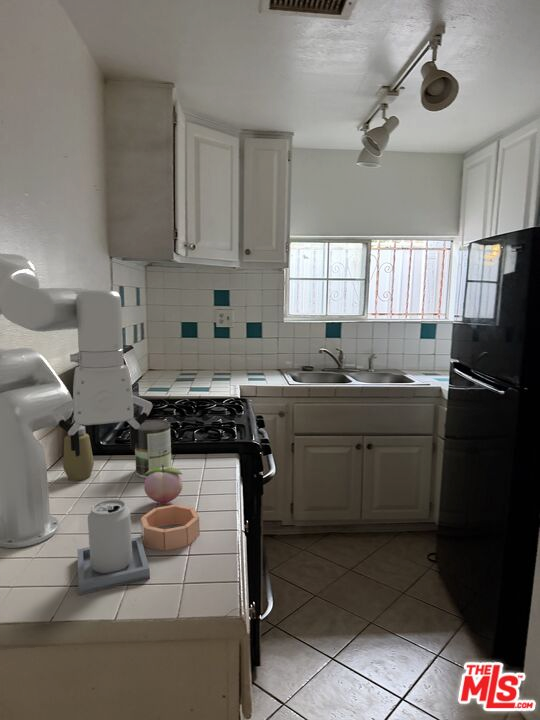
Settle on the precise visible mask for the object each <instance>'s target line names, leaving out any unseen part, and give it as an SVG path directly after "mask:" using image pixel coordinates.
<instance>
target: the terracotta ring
mask: <svg viewBox="0 0 540 720" xmlns="http://www.w3.org/2000/svg"><path fill="white" fill-rule="evenodd" d="M140 521H141V527H140V528H141V539H142V542H143V545H144V547H147V548H151V549H155V550H159V551H165V552H166V551H170V550H174V549H179V548H180V549H181V548H184V547H188V546H189V545H191V543H193V542H194V541H195V540H196V539H198V537H199V536H200V533H201V532H200V516H199V514H198V513H197V510H196V509H195V508H194V507H191V506H186V505H183V504H181V505H180V504H171V505H170V504H169V505H165V506H159V507H155V508H153V509H151V510H150V511H148V512H147V513H146V514H144V515H142V516H141V518H140ZM173 524H175V525H182V526H176V527H173V528H172V527H171V528H166V529H165V528H159V527H163V526H168V525H173Z"/></svg>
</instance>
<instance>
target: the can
mask: <svg viewBox="0 0 540 720" xmlns="http://www.w3.org/2000/svg"><path fill="white" fill-rule="evenodd" d="M131 519H132V518H131V510H130V508H129V507H128V506H127V502H126V501H125V500H123V499H117V498H111V499H110V498H109V499H105V500H104V499H103V500H100V501H98V502H96V503H95V504H93V505H92V506H91V508H90V513H88V516H87V528H88V542H89V543H88V545H89V546H88V547H90V562H91V567H92V569H93V570H95V571H97V572H98V573H101V574H112V573H117V572H120V571H122V570H124V569H125V568H126V567H127V565H129V564H130V563H131V561H132V539H133V538H132V523H131V522H132V520H131Z"/></svg>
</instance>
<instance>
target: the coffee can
mask: <svg viewBox="0 0 540 720" xmlns="http://www.w3.org/2000/svg"><path fill="white" fill-rule="evenodd" d="M138 437H139V444H135V450H134V456H135V475H136V477H139V478H142V479H143V478H144V479H146V477H147V476H148V474H147V475H144V474H145V473H146V472H147V471H149V470H151V469H154V468H162V465H163V467H167V468H173V466H172V447H171V446H172V443H171V422H170V421H169V420H165V419H164V420H163V419H146V420H145V421H144V422H143V423H142V424H141V425H140V428H138Z"/></svg>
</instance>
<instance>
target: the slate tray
mask: <svg viewBox="0 0 540 720" xmlns="http://www.w3.org/2000/svg"><path fill="white" fill-rule="evenodd" d="M131 539H132V561H131V563H130V564H129V565H127V567H126V568H125V569H124V570H122V571H120V572H117V573H112V574H101V573H98V572H97V571H95V570H93V569H92V567H91V562H90V546H88V547H84V548H83V547H82V548H77V550H76V551H77V583H78V595H79V596H80V595H86V594H89V593H93V592H98V591H102V590H107V589H111V588H115V587H119V586H123V585H124V586H125V585H128V584H132V583H136V582H140V581H141V582H142V581H145V580H149V579H151V574H150V565H149V562H148V558H147V555H146V551H145V548H144V547H145V546H144V543H143V539H142V536H140V537H133V538H131Z"/></svg>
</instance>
